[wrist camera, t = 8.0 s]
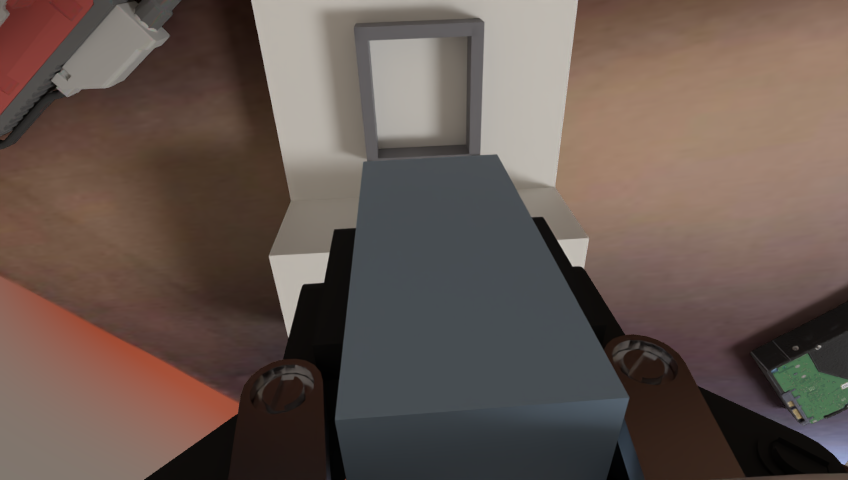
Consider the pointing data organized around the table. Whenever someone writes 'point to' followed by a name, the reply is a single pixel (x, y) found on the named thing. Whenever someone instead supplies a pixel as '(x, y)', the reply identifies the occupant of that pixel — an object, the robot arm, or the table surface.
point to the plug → (466, 337)
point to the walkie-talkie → (69, 51)
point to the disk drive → (810, 366)
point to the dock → (410, 106)
